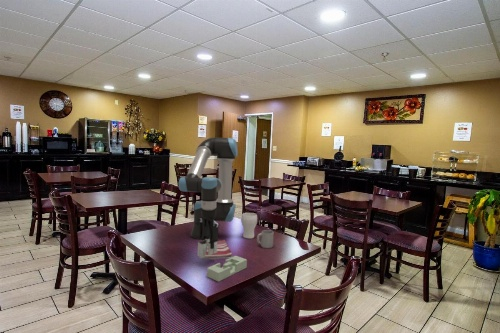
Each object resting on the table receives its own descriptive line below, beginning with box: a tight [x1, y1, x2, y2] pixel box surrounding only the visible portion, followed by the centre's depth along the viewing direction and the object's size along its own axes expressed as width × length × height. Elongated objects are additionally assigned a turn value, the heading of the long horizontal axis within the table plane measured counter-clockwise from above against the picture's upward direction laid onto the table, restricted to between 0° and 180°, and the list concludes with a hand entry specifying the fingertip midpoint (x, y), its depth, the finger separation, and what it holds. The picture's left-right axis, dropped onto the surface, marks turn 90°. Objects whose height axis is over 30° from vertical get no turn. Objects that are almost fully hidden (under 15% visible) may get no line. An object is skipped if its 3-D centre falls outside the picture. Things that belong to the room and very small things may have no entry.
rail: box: [206, 255, 248, 282], centre depth 134 cm, size 20×7×4 cm, turn 142°
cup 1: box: [240, 212, 258, 239], centre depth 187 cm, size 11×11×15 cm
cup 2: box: [256, 229, 275, 249], centre depth 171 cm, size 7×10×9 cm
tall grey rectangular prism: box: [197, 239, 217, 259], centre depth 143 cm, size 10×4×7 cm, turn 142°
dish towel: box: [199, 239, 233, 260], centre depth 161 cm, size 17×23×3 cm
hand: (207, 253), depth 143 cm, fingers closed on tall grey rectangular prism, 4 cm apart
